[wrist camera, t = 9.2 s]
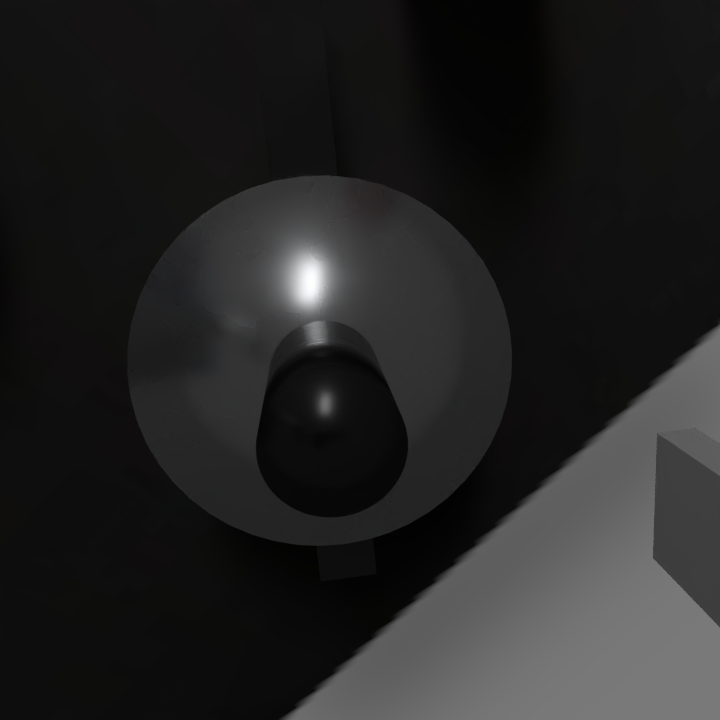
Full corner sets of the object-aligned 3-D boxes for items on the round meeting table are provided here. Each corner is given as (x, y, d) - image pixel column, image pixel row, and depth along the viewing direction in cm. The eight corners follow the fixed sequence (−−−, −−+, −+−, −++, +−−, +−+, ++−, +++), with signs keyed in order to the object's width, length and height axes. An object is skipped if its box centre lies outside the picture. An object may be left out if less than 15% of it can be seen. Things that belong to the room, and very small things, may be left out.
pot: (215, 512, 35) (190, 605, 27) (123, -42, 28) (54, -129, 20) (460, 482, 35) (503, 564, 28) (429, -65, 29) (476, -158, 21)
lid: (99, 196, 23) (-5, 201, 15) (496, 157, 23) (592, 143, 16) (169, 553, 26) (114, 705, 19) (510, 509, 27) (592, 638, 19)
